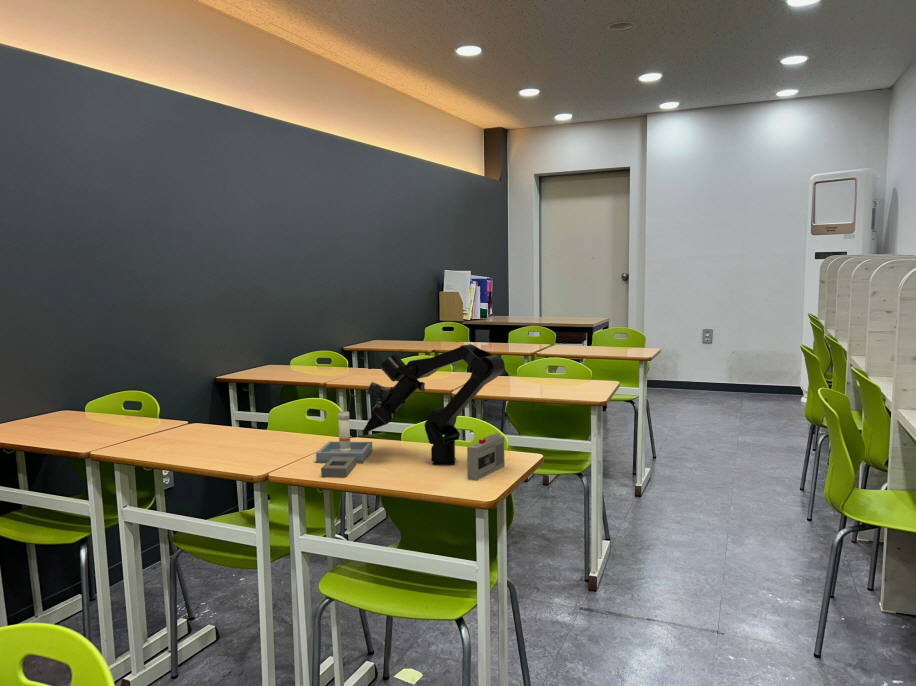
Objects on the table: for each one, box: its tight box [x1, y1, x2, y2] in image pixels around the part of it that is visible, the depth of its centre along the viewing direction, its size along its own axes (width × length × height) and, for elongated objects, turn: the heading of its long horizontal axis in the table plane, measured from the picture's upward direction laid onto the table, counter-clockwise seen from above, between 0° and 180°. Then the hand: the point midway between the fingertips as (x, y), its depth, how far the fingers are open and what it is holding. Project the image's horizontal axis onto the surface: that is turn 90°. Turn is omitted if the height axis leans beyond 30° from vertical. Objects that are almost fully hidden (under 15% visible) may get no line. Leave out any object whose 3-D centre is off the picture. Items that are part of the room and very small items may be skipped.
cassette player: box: [466, 432, 505, 481], centre depth 183 cm, size 16×3×10 cm, turn 147°
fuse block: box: [320, 457, 357, 478], centre depth 186 cm, size 7×12×2 cm, turn 176°
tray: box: [315, 440, 373, 464], centre depth 201 cm, size 14×14×3 cm
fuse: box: [337, 410, 351, 452], centre depth 200 cm, size 3×3×13 cm
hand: (366, 428), depth 200 cm, fingers open, 9 cm apart
